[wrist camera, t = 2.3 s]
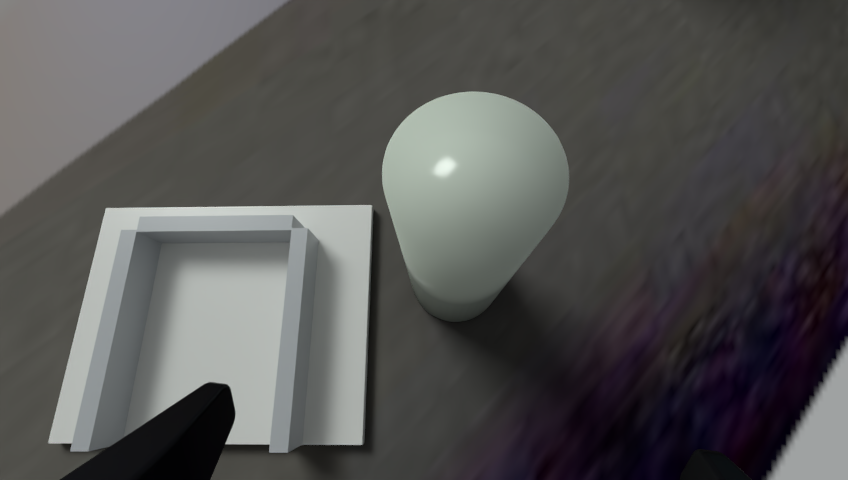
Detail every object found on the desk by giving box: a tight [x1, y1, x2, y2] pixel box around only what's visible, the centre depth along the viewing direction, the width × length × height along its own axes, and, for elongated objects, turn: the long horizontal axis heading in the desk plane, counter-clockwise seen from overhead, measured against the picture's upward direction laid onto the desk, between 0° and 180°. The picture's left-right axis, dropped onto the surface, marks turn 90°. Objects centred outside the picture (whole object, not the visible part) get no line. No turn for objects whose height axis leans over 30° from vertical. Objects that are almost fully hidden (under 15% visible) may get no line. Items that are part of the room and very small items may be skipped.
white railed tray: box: [48, 205, 374, 453], centre depth 21 cm, size 12×15×3 cm
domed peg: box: [382, 92, 569, 322], centre depth 16 cm, size 5×5×12 cm
